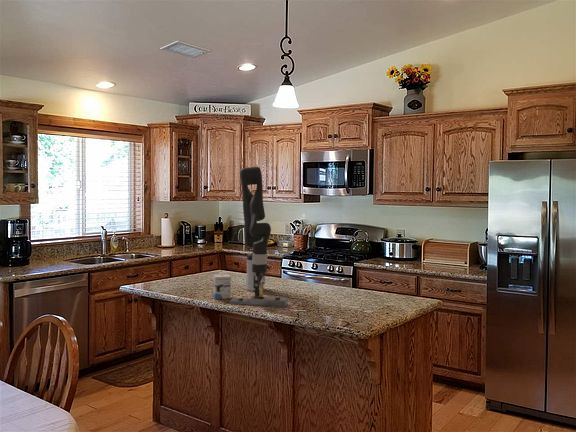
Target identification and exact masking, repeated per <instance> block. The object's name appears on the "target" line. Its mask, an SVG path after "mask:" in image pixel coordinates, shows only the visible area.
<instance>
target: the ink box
mask: <svg viewBox="0 0 576 432" xmlns="http://www.w3.org/2000/svg"><path fill="white" fill-rule="evenodd" d="M231 282H232V277H231V275H229V274H214V275H213V290H212V291H213V292H212V293H213V299H214V300H222V299H223V300H225V299H227V298H229V299H231V295H232V294H231V293H232V292H231V289H232V287H231V285H232V283H231Z"/></svg>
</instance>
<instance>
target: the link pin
mask: <svg viewBox="0 0 576 432" xmlns="http://www.w3.org/2000/svg"><path fill="white" fill-rule="evenodd" d="M256 286H258V285H256ZM263 293H264V286H263V284H261V285H260V295H259V297H255V299H262V297H263Z"/></svg>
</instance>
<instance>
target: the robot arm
mask: <svg viewBox="0 0 576 432" xmlns="http://www.w3.org/2000/svg"><path fill="white" fill-rule="evenodd" d="M262 175H263V174H262V170H261V168H260V167H259V166H251V167H242V168H241V169H240V172H239V177H240V185H241V193H242V210H243V213H242V214H243V220H244V244H245V247H246V248H250V249H251V248H252V252H251V253H248V254H247V255H246V290H247V291H253V292H254V296H255V297H259V295H260V285H261V284H263V287H264V286H265V284H266V282H265V281H266V278H265V277H266V275H265V274H266V273H267V272H268V243H269V240H270V236H271V232H272V227H271V225H270V224H269V222H260V221H262V220H264V219H265V218H266V213H265V206H264V192H263V176H262ZM252 185H256V188H255V192H254V194H253V193H252V192H251V190H250V189H249V187H248V186H252ZM256 285H258V286H256Z"/></svg>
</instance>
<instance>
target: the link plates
mask: <svg viewBox="0 0 576 432" xmlns="http://www.w3.org/2000/svg"><path fill="white" fill-rule="evenodd" d="M288 300H289V298H288V297H280V296H263V297H262V299H255V295H253V296H251V298H246V297H245V298H243V297H233V298H232V299H230V300H229V304H230V305H243V306H256V307H257V306H258V307H272V308H286V307H287V306H288V302H289V301H288Z"/></svg>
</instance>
